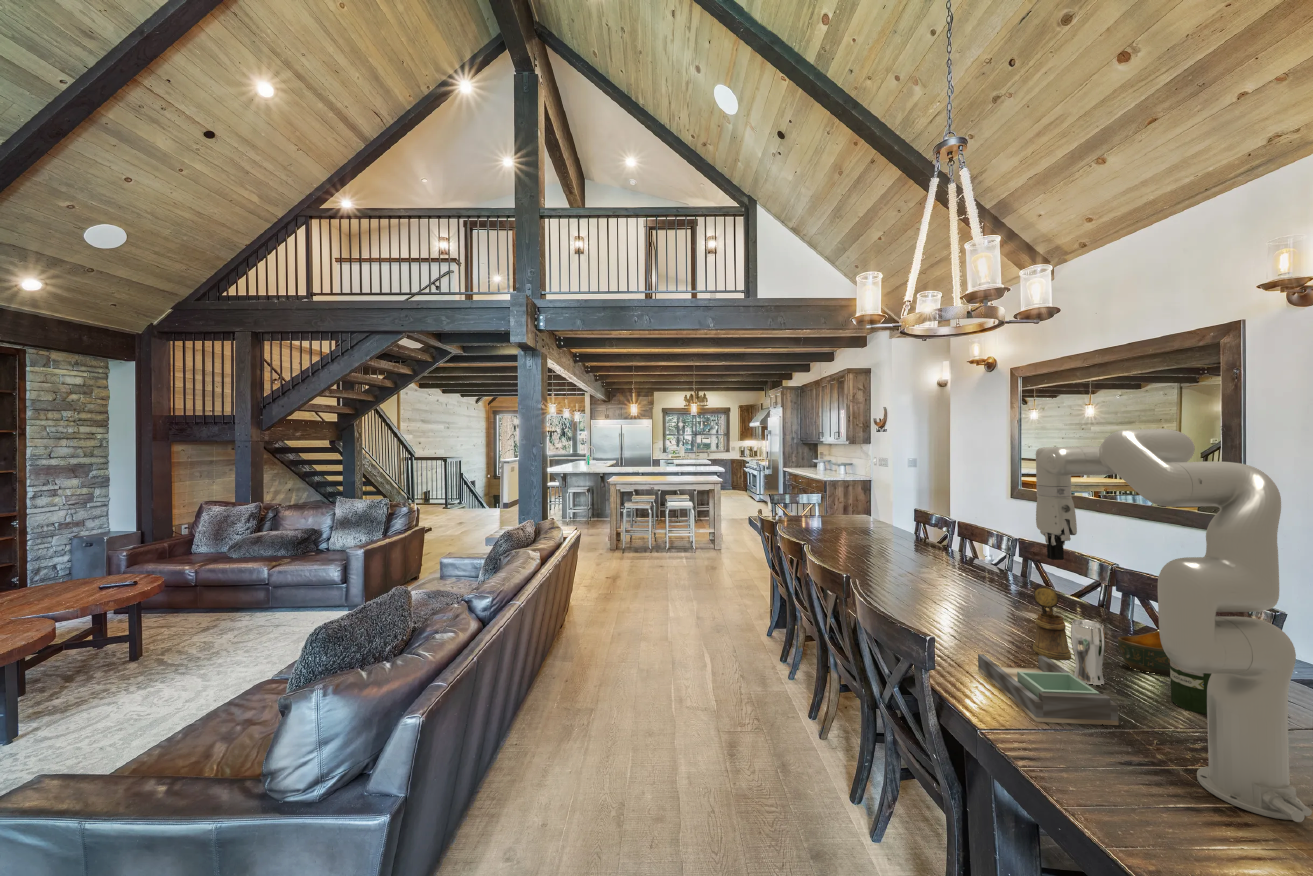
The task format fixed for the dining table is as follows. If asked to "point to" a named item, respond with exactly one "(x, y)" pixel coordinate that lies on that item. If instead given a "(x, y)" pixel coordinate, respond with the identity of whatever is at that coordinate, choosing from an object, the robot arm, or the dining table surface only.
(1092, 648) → the beer glass
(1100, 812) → the dining table surface
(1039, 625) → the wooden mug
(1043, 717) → the bay
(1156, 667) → the green gold bowl
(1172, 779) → the dining table surface
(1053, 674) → the box
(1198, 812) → the dining table surface
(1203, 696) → the wine bottle
